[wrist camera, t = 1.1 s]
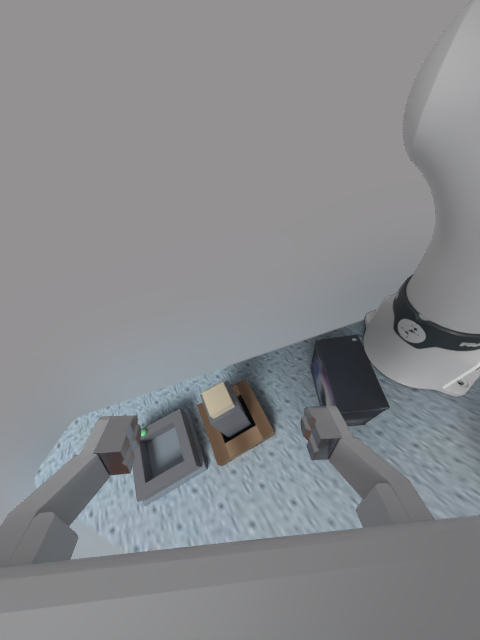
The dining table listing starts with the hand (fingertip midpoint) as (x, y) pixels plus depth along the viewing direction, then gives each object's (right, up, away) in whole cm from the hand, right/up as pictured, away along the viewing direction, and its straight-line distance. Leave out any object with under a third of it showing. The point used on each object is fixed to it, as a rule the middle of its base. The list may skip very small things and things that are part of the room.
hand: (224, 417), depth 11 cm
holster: (0, -13, +26) cm, 29 cm away
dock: (-11, -17, +25) cm, 32 cm away
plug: (0, -13, +26) cm, 29 cm away
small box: (+17, -8, +26) cm, 32 cm away
